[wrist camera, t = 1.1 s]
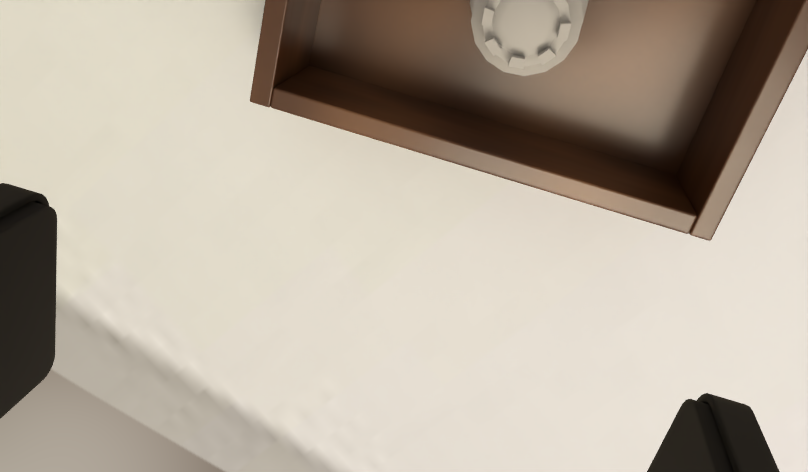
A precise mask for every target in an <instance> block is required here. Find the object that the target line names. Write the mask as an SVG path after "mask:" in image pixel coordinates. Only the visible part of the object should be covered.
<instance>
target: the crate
mask: <svg viewBox="0 0 808 472" xmlns="http://www.w3.org/2000/svg"><path fill="white" fill-rule="evenodd" d="M471 18H472V12H471V7H470V0H266V1H265V7H264V14H263V20H262V26H261V33H260V39H259V45H258V52H257V58H256V65H255V71H254V77H253V84H252V90H251V96H250V102H253V103H256V104H260V105H263V106H266V107H270V106H271V107H272V108H274V109H277V110H281V111H284V112H287V113H290V114H294V115H297V116H300V117H304V118H307V119H310V120H314V121H317V122H320V123H323V124H327V125H330V126H333V127H337V128H340V129H343V130H347V131H350V132H353V133H356V134H360V135H363V136H366V137H370V138H373V139H376V140H379V141H383V142H386V143H389V144H393V145H396V146H399V147H403V148H406V149H409V150H412V151H416V152H419V153H422V154H426V155H429V156H432V157H436V158H439V159H442V160H445V161H449V162H452V163H455V164H459V165H462V166H465V167H468V168H472V169H475V170H478V171H482V172H485V173H488V174H492V175H495V176H498V177H501V178H505V179H508V180H511V181H515V182H518V183H521V184H525V185H528V186H531V187H534V188H538V189H541V190H544V191H548V192H551V193H554V194H558V195H561V196H564V197H567V198H571V199H574V200H577V201H581V202H584V203H587V204H590V205H594V206H597V207H600V208H604V209H607V210H610V211H614V212H617V213H620V214H623V215H627V216H630V217H633V218H637V219H640V220H643V221H647V222H650V223H653V224H656V225H660V226H663V227H666V228H670V229H673V230H676V231H679V232H683V233H686V234H690V235H692V236H696V237H699V238H702V239H705V240H711V239H712V237H713V235H714V233H715V231H716V229H717V227H718V225H719V223H720V221H721V219H722V217H723V215H724V213H725V211H726V209H727V207H728V205H729V203H730V201H731V199H732V197H733V195H734V194H735V192H736V190H737V188H738V186H739V184H740V182H741V180H742V178H743V176H744V174H745V172H746V170H747V168H748V166H749V164H750V162H751V160H752V158H753V156H754V154H755V152H756V150H757V148H758V146H759V144H760V142H761V140H762V138H763V136H764V134H765V132H766V130H767V128H768V126H769V124H770V122H771V120H772V118H773V117H774V115H775V113H776V111H777V109H778V107H779V105H780V103H781V101H782V99H783V97H784V95H785V93H786V91H787V89H788V87H789V85H790V83H791V81H792V79H793V77H794V75H795V73H796V71H797V69H798V67H799V65H800V63H801V61H802V59H803V57H804V55H805V53H806V51H807V49H808V0H589V1H588V4H587V8H586V12H585V16H584V20H583V24H582V26H581V30H580V34H579V38H578V41H577V43H576V44H575V46H574V47H573V48H572V50H571V51H570V53H569V54H568V55H567V57H566V58H565V59H564V60H563V61H562V62H560V63H559V64H557V65H555V66H554V67H552V68H551V69H549V70H548V71H546V72H543V73H538V74H533V75H528V76H521V75H516V74H511V73H506V72H503V71H501V70H500V69H498V68H497V67H496V66H494V65H493V64H491V63H490V62H488V61H487V60H486V59H485V57H484V56H483V54H482V53H481V51H480V50H479V48H478V47H477V45H476V44H475V41H474V35H473V30H472V25H471Z"/></svg>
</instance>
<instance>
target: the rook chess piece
mask: <svg viewBox="0 0 808 472" xmlns="http://www.w3.org/2000/svg"><path fill="white" fill-rule="evenodd" d="M588 1H589V0H470V7H471V12H472V18H471V25H472V30H473V35H474V41H475V44H476V45H477V47H478V48H479V50H480V51H481V53H482V54H483V56H484V57H485V59H486V60H487V61H488V62H490V63H491V64H493V65H494V66H496V67H497V68H498V69H500V70H501V71H503V72H506V73H511V74H516V75H521V76H528V75H533V74H538V73H543V72H546V71H548V70H549V69H551V68H552V67H554V66H555V65H557V64H559V63H560V62H562V61H563V60H564V59H565V58H566V57H567V55H568V54H569V53H570V51H571V50H572V48H573V47H574V46H575V44H576V43H577V41H578V38H579V34H580V30H581V26H582V24H583V20H584V16H585V12H586V8H587V4H588Z"/></svg>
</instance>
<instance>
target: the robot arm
mask: <svg viewBox="0 0 808 472" xmlns="http://www.w3.org/2000/svg"><path fill="white" fill-rule="evenodd" d="M56 251H57V215H56V212H55V210H54V209H53V208H52V207H49V203H48V201H47V199H46V197H45V196H43V195H42V194H40V193H36V192H33V191H29V190H26V189H23V188H19V187H16V186H13V185H9V184H5V183H2V184H0V418H2V417H3V416H4V415H5V414H6V413H7V412H8V411H9V410H10V409H11V408H12V407H13V406H15V405H16V404H17V403H18V402H19V401H20V400H21V399H22V398H24V397H25V396H26V395H27V394H28V393H29V392H30V391H31V390H32V389H33V388H35V387H36V386H37V385H38V384H39V383H40V382H41V381H42V380H43V379H44V378H45V377H46V376H47V374H48V373H49V371H50V369H51V367H52V365H53V362H54V358H55V319H56ZM647 472H779V470H778V467H777V465H776V463H775V461H774V458H773V456H772V454H771V451H770V449H769V447H768V445H767V442H766V440H765V438H764V436H763V433H762V431H761V429H760V426H759V424H758V422H757V420H756V417H755V415H754V413H753V411H752V409H751V408H750V407H749V406H747V405H745V404H741V403H738V402H735V401H731V400H728V399H725V398H721V397H718V396H715V395H711V394H708V393H706V394H703V395H702V396H700V397H699V398H698V400H697V401H695V400H692V399H688V400H686V401H685V402H684V403H683V404H682V406H681V407H680V409H679V411H678V413H677V415H676V417H675V419H674V421H673V423H672V425H671V427H670V429H669V431H668V432H667V434H666V436H665V438H664V440H663V442H662V444H661V446H660V448H659V450H658V452H657V454H656V456H655V458H654V460H653V461H652V463H651V465H650V467H649V469H648V471H647Z"/></svg>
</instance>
